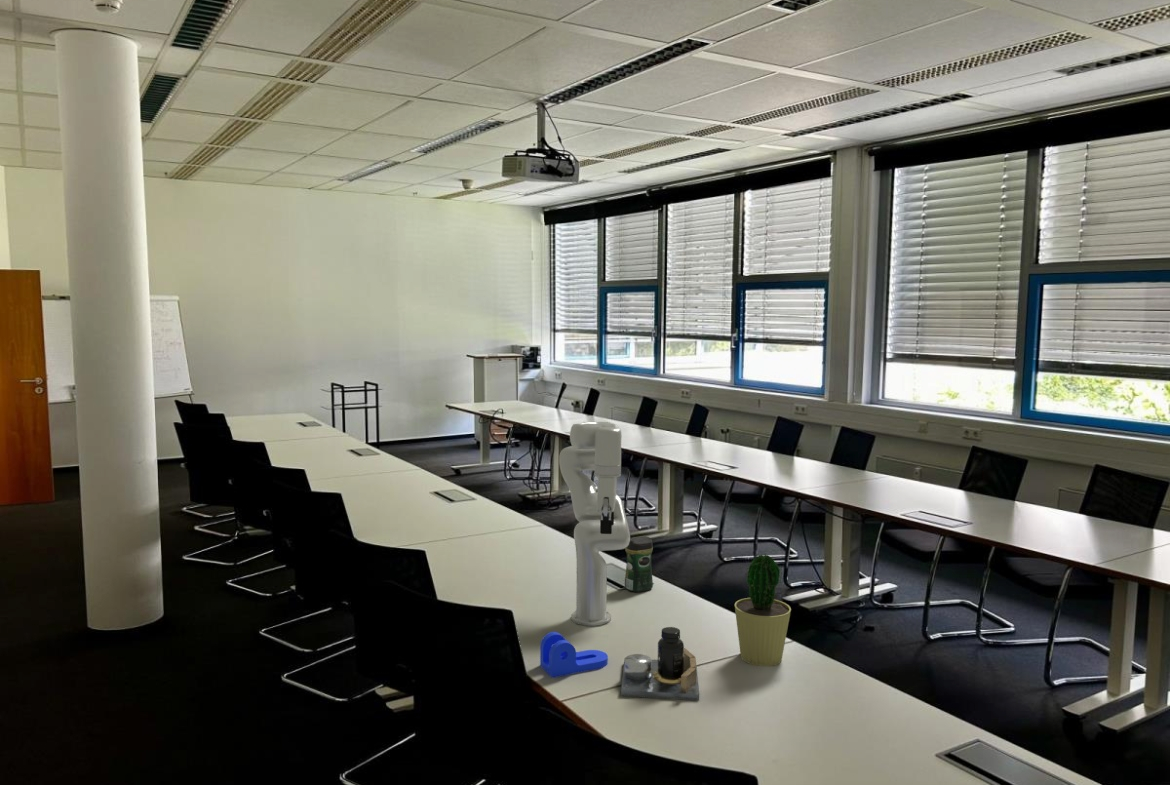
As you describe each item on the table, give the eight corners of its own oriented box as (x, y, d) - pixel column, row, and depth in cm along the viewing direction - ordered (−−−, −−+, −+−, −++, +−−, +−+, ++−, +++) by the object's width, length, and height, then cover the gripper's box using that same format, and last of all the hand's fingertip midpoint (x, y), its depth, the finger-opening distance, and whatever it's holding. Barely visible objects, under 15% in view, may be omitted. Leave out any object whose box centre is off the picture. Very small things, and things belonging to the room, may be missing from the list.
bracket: (551, 678, 214) (552, 645, 213) (540, 666, 221) (540, 634, 220) (612, 666, 221) (613, 634, 220) (599, 655, 229) (599, 624, 228)
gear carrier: (624, 663, 223) (624, 644, 222) (695, 666, 221) (696, 647, 220) (621, 696, 203) (621, 675, 203) (699, 700, 202) (699, 678, 201)
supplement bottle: (681, 668, 216) (682, 625, 215) (685, 680, 209) (686, 635, 208) (655, 668, 215) (656, 625, 214) (658, 680, 209) (659, 635, 208)
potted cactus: (748, 672, 218) (751, 563, 215) (724, 649, 233) (726, 547, 230) (799, 666, 222) (803, 559, 219) (772, 644, 237) (775, 544, 234)
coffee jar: (643, 583, 291) (644, 532, 289) (656, 589, 284) (656, 538, 282) (620, 587, 286) (621, 536, 285) (632, 594, 280) (633, 541, 278)
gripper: (597, 464, 240) (596, 521, 241) (592, 475, 223) (591, 536, 224) (622, 465, 239) (621, 522, 241) (619, 476, 222) (618, 537, 223)
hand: (607, 529), depth 232 cm, fingers open, 9 cm apart
